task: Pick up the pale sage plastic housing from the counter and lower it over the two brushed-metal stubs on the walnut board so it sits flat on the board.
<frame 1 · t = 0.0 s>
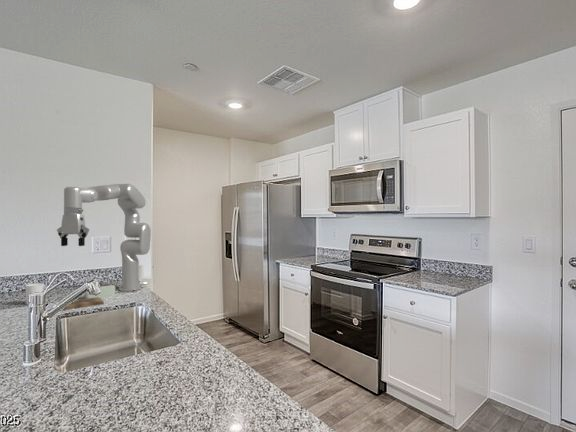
hand: (72, 245, 158), 31 cm above the worktop, tool pointing down, fingers open, 9 cm apart
housing: (100, 297, 181), on the worktop
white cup: (34, 303, 169), on the worktop
stub board: (79, 305, 164), on the worktop
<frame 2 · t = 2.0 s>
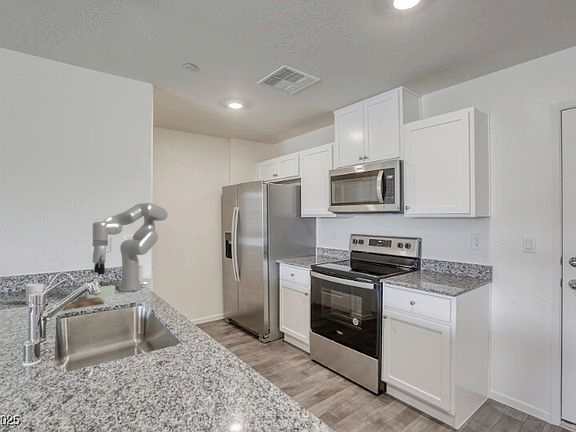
hand: (99, 273, 181), 14 cm above the worktop, tool pointing down, fingers open, 9 cm apart
nothing on the worktop moved.
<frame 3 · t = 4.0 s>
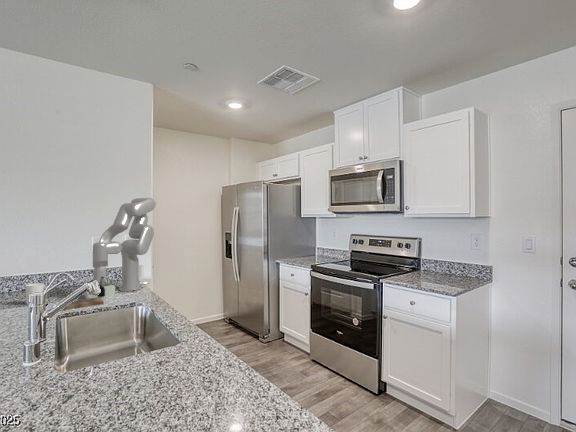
hand: (100, 295, 181), 1 cm above the worktop, tool pointing down, fingers closed on housing, 6 cm apart
housing: (100, 297, 181), on the worktop, touching gripper
everything else where it was.
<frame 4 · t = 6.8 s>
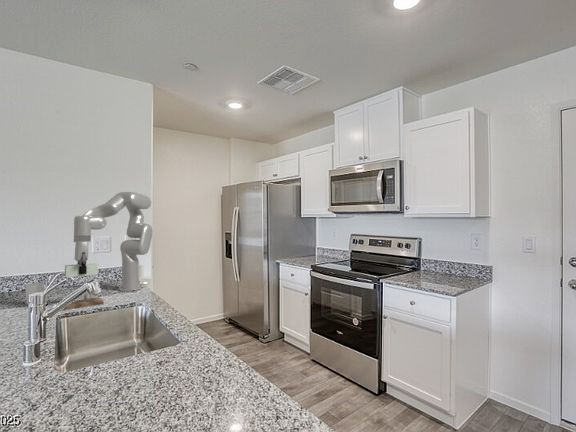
hand: (81, 273, 166), 16 cm above the worktop, tool pointing down, fingers closed on housing, 6 cm apart
housing: (81, 275, 166), point 15 cm above the worktop, touching gripper
everything else where it was.
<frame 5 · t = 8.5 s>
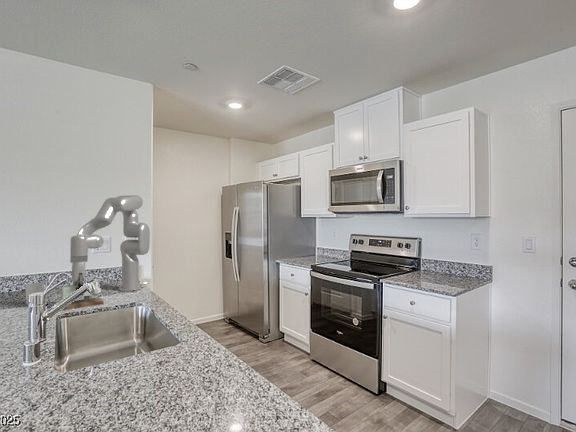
hand: (78, 293, 164), 6 cm above the worktop, tool pointing down, fingers closed on housing, 6 cm apart
housing: (78, 295, 164), point 5 cm above the worktop, touching gripper
everything else where it was.
when the fingers open (4 cm above the worktop, at t = 9.7 s): housing drops 1 cm, resting on stub board.
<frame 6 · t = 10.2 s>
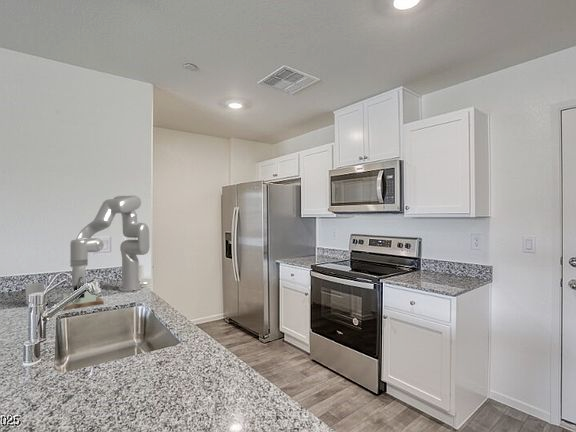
hand: (79, 296, 164), 5 cm above the worktop, tool pointing down, fingers open, 9 cm apart
housing: (79, 302, 164), point 1 cm above the worktop, touching stub board
everything else where it was.
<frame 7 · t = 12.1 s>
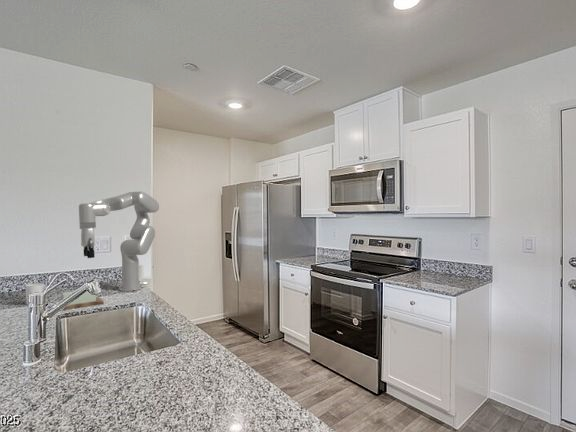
hand: (89, 256, 174), 24 cm above the worktop, tool pointing down, fingers open, 9 cm apart
nothing on the worktop moved.
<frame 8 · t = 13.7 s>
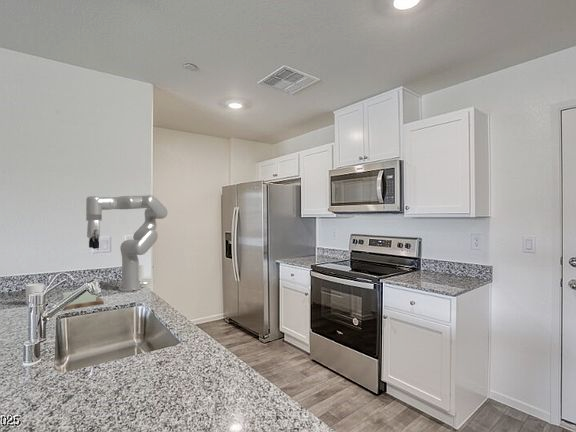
hand: (93, 248, 181), 28 cm above the worktop, tool pointing down, fingers open, 9 cm apart
nothing on the worktop moved.
at the end: housing 0.0 cm off-centre on the stub board, point 1.5 cm above the stub board's base; housing tilted 0°; the gripper is holding nothing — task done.
